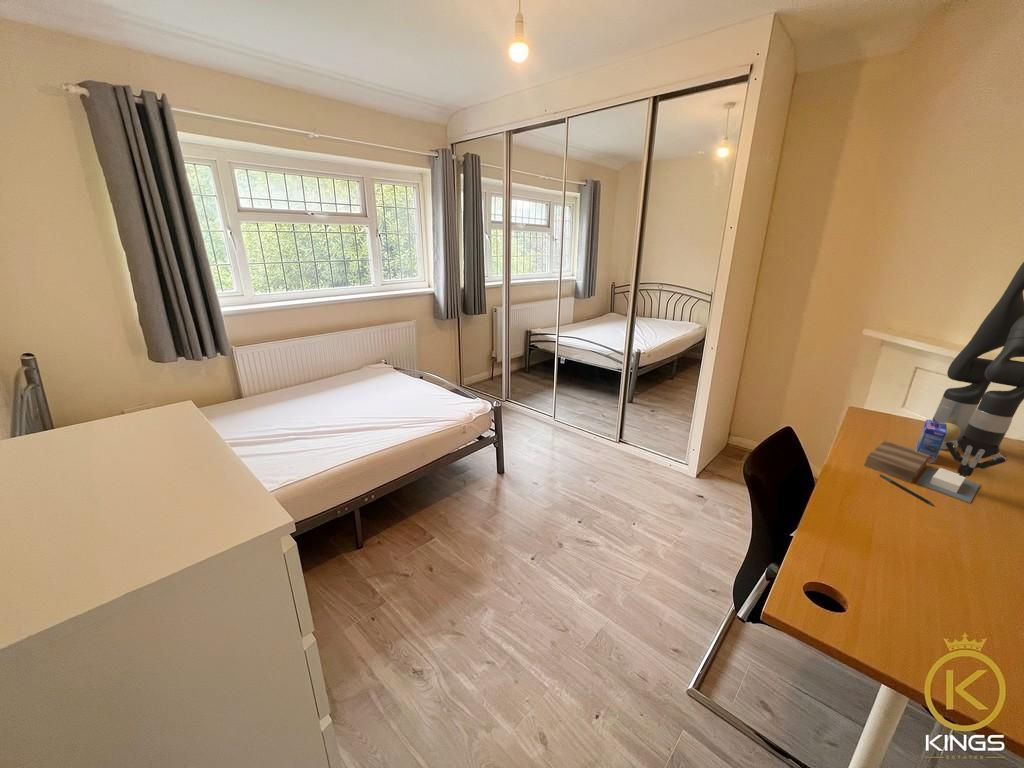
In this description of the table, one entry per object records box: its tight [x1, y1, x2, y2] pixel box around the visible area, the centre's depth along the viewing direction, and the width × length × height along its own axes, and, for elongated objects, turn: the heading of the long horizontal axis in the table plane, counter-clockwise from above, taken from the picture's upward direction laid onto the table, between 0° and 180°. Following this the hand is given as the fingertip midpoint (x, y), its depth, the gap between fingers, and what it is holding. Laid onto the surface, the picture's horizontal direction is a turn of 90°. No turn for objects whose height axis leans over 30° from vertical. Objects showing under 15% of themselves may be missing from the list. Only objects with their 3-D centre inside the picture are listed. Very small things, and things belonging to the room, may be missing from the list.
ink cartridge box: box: [914, 416, 947, 464], centre depth 141 cm, size 10×6×14 cm, turn 136°
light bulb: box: [940, 423, 961, 450], centre depth 147 cm, size 6×6×10 cm
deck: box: [863, 440, 930, 483], centre depth 137 cm, size 18×12×4 cm, turn 125°
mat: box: [915, 466, 981, 504], centre depth 127 cm, size 16×12×1 cm
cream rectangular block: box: [930, 467, 967, 493], centre depth 127 cm, size 9×6×2 cm, turn 125°
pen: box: [879, 474, 935, 507], centre depth 124 cm, size 1×16×1 cm, turn 10°
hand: (962, 475), depth 124 cm, fingers closed
